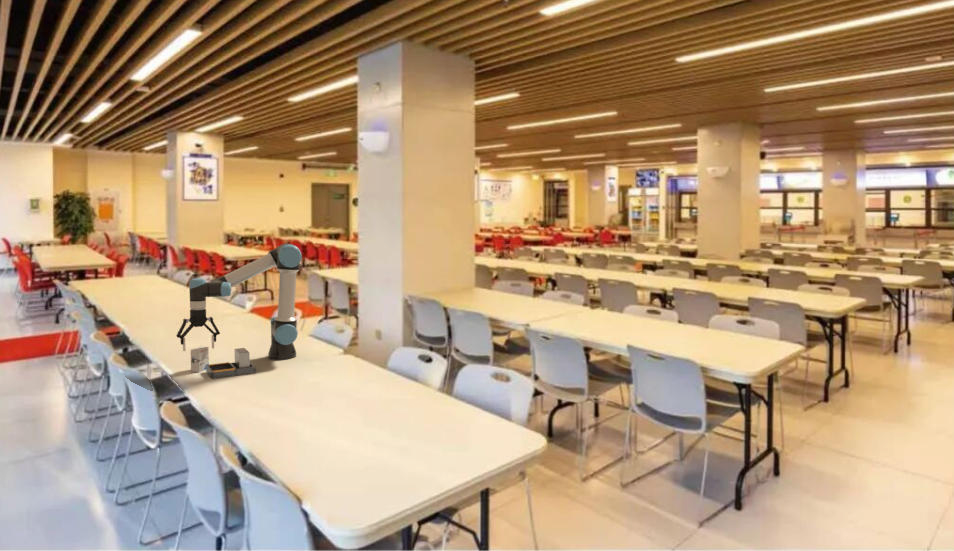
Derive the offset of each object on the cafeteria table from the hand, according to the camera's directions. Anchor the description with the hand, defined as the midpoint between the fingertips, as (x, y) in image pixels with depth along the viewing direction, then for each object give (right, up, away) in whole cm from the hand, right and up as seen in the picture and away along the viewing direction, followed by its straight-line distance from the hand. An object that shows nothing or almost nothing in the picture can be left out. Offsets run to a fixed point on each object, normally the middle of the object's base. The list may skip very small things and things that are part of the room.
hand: (198, 349), depth 310 cm
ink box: (0, -11, +1) cm, 11 cm away
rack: (+18, -12, -3) cm, 21 cm away
